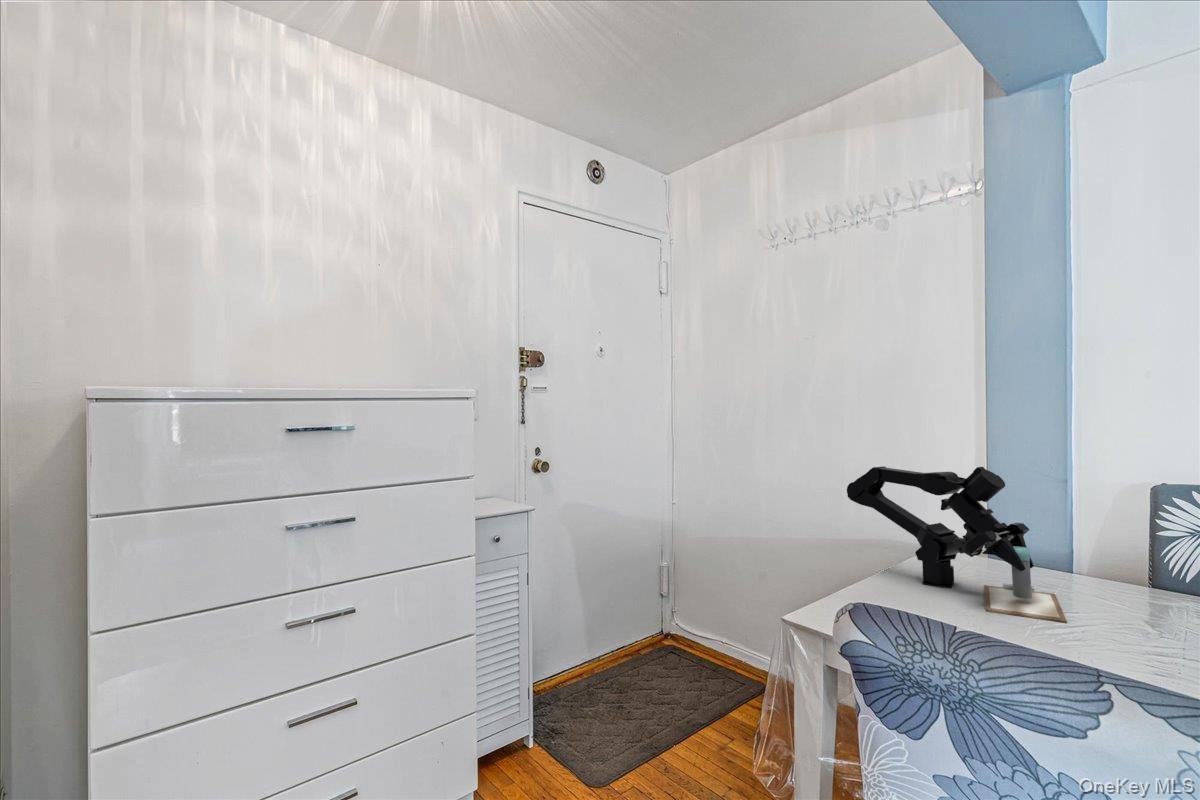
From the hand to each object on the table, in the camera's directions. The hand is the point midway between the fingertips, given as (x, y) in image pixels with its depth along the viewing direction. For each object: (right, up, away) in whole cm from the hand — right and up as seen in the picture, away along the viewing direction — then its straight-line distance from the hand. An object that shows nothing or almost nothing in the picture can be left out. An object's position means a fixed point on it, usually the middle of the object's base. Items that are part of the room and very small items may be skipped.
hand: (1027, 568), depth 125 cm
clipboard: (0, -9, +2) cm, 9 cm away
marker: (0, -7, +1) cm, 7 cm away
